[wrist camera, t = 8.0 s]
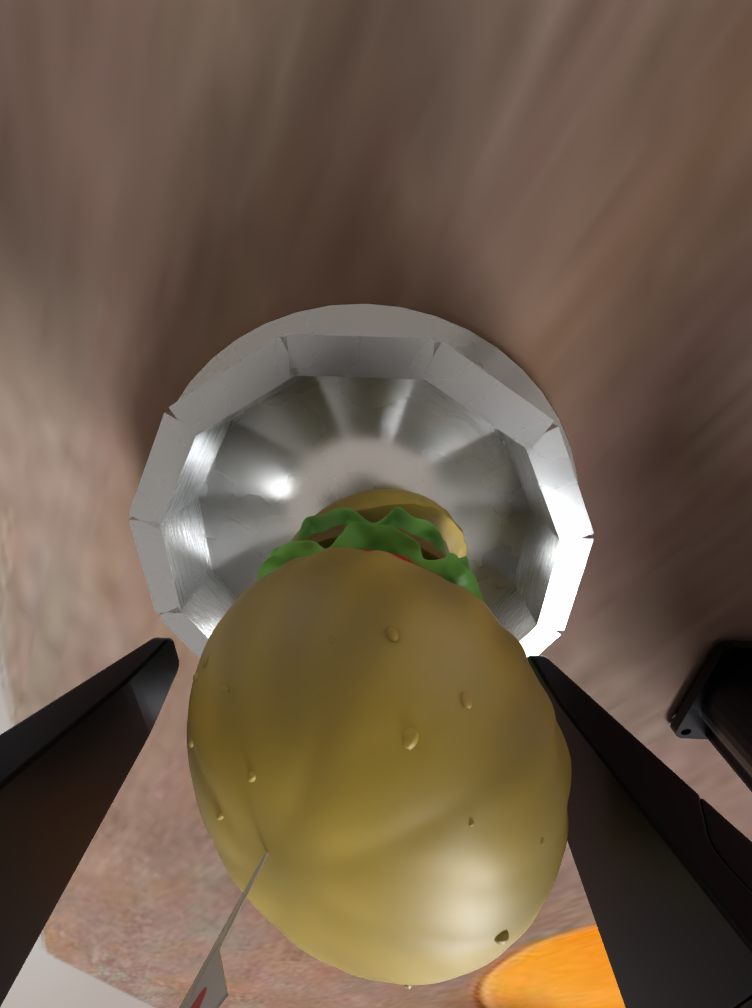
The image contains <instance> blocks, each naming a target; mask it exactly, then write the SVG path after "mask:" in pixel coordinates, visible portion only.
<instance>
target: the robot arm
mask: <svg viewBox="0 0 752 1008" xmlns="http://www.w3.org/2000/svg"><path fill="white" fill-rule="evenodd" d="M527 659H528V662H529V664H530V666H531V668H532V669H533V671H534V673H535V675H536V677H537V679H538V681H539V682H540V684H541V685H542V687H543V688H544V690H545V692H546V693H547V695H548V697H549V698H550V700H551V703H552V705H553V708H554V711H555V715H556V721H557V723H558V725H559V727H560V729H561V731H562V733H563V735H564V738H565V741H566V743H567V747H568V750H569V754H570V758H571V767H572V773H571V787H570V794H569V799H568V805H567V811H568V838H567V841H568V844H569V847H570V849H571V852H572V855H573V858H574V861H575V864H576V867H577V870H578V872H579V875H580V878H581V881H582V884H583V887H584V890H585V892H586V895H587V898H588V901H589V904H590V907H591V910H592V912H593V915H594V918H595V921H596V924H597V927H598V930H599V933H600V935H601V938H602V941H603V944H604V947H605V950H606V953H607V955H608V958H609V961H610V964H611V967H612V970H613V973H614V975H615V978H616V981H617V984H618V987H619V990H620V993H621V996H622V998H623V1001H624V1004H625V1007H626V1008H752V842H751V841H750V840H749V839H748V838H747V837H745V836H744V835H743V834H742V833H741V832H740V831H739V830H738V829H736V828H735V827H734V826H733V825H732V824H731V823H730V822H728V821H727V820H726V819H725V818H724V817H723V816H722V815H721V814H720V813H718V812H717V811H716V810H715V809H714V808H713V807H712V806H711V805H710V804H708V803H707V802H706V801H705V800H704V799H700V797H699V795H698V794H697V793H696V792H695V791H694V790H693V789H692V788H691V787H689V786H688V785H687V784H686V783H685V782H684V781H683V780H682V779H681V778H679V777H678V776H677V775H676V774H675V773H674V772H673V771H672V770H671V769H670V768H668V767H667V766H666V765H665V764H664V763H663V762H662V761H661V760H660V759H658V758H657V757H656V756H655V755H654V754H653V753H652V752H651V751H650V750H649V749H647V748H646V747H645V746H644V745H643V744H642V743H641V742H640V741H639V740H637V739H636V738H635V737H634V736H633V735H632V734H631V733H630V732H629V731H627V730H626V729H625V728H624V727H623V726H622V725H621V724H620V723H619V722H618V721H616V720H615V719H614V718H613V717H612V716H611V715H610V714H609V713H608V712H606V711H605V710H604V709H603V708H602V707H601V706H600V705H599V704H598V703H596V702H595V701H594V700H593V699H592V698H591V697H590V696H589V695H588V694H587V693H585V692H584V691H583V690H582V689H581V688H580V687H579V686H578V685H577V684H575V683H574V682H573V681H572V680H571V679H570V678H569V677H568V676H567V675H566V674H564V673H563V672H562V671H561V670H560V669H559V668H558V667H557V666H556V665H554V664H553V663H552V662H551V661H550V660H549V659H548V658H546V657H544V656H534V655H530V656H528V657H527ZM178 667H179V659H178V656H177V652H176V648H175V645H174V642H173V640H172V639H170V638H153V639H151V640H150V641H148V642H147V643H145V644H143V645H142V646H140V647H139V648H137V649H135V650H134V651H132V652H131V653H129V654H128V655H126V656H124V657H123V658H121V659H120V660H118V661H116V662H115V663H113V664H112V665H110V666H109V667H107V668H105V669H104V670H102V671H101V672H99V673H97V674H96V675H94V676H93V677H91V678H90V679H88V680H86V681H85V682H83V683H82V684H80V685H78V686H77V687H75V688H74V689H72V690H71V691H69V692H67V693H66V694H64V695H63V696H61V697H60V698H58V699H56V700H55V701H53V702H52V703H50V704H48V705H47V706H45V707H44V708H42V709H41V710H39V711H37V712H36V713H34V714H33V715H31V716H29V717H28V718H26V719H25V720H23V721H22V722H20V723H18V724H17V725H15V726H14V727H12V728H10V729H9V730H7V731H6V732H4V733H3V734H1V735H0V1006H1V1004H2V1003H3V1001H4V999H5V997H6V995H7V994H8V992H9V990H10V988H11V986H12V984H13V983H14V981H15V979H16V977H17V975H18V974H19V972H20V970H21V968H22V966H23V964H24V963H25V960H26V958H27V957H28V955H29V954H30V952H31V950H32V948H33V946H34V944H35V943H36V941H37V939H38V937H39V935H40V934H41V932H42V930H43V928H44V926H45V924H46V923H47V921H48V919H49V917H50V915H51V913H52V912H53V910H54V908H55V906H56V904H57V903H58V901H59V899H60V897H61V895H62V893H63V892H64V890H65V888H66V886H67V884H68V882H69V881H70V879H71V877H72V875H73V873H74V872H75V870H76V868H77V866H78V864H79V862H80V861H81V859H82V857H83V855H84V853H85V852H86V850H87V848H88V846H89V844H90V842H91V841H92V839H93V837H94V835H95V833H96V831H97V830H98V828H99V826H100V824H101V822H102V821H103V819H104V817H105V815H106V813H107V811H108V810H109V808H110V806H111V804H112V802H113V800H114V799H115V797H116V795H117V793H118V791H119V790H120V788H121V786H122V784H123V782H124V780H125V779H126V777H127V775H128V773H129V771H130V769H131V768H132V766H133V764H134V762H135V760H136V759H137V757H138V755H139V753H140V751H141V749H142V748H143V746H144V744H145V742H146V740H147V738H148V736H149V734H150V732H151V730H152V728H153V726H154V724H155V721H156V719H157V717H158V715H159V712H160V710H161V708H162V705H163V703H164V701H165V699H166V696H167V694H168V692H169V689H170V687H171V685H172V683H173V680H174V678H175V676H176V673H177V671H178ZM670 727H671V729H672V730H673V732H674V733H675V734H676V736H678V737H679V738H691V739H708V740H709V741H710V742H711V743H712V744H713V746H714V747H715V748H716V749H717V750H718V752H719V753H720V754H721V755H722V757H723V758H724V759H725V760H726V761H727V763H728V764H729V765H730V766H731V767H732V769H733V770H734V771H735V772H736V773H737V775H738V776H739V777H740V778H741V780H742V781H743V782H744V783H745V784H746V786H747V787H748V788H749V789H750V790H751V792H752V642H750V641H724V642H721V643H719V644H718V645H716V647H715V648H714V649H713V651H712V653H711V655H710V656H709V658H708V660H707V662H706V663H705V665H704V667H703V669H702V670H701V672H700V674H699V676H698V677H697V679H696V681H695V683H694V684H693V686H692V688H691V690H690V691H689V693H688V695H687V697H686V698H685V700H684V702H683V704H682V705H681V707H680V709H679V711H678V712H677V714H676V716H675V718H674V719H673V721H672V723H671V725H670Z"/></svg>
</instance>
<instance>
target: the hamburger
mask: <svg viewBox="0 0 752 1008" xmlns="http://www.w3.org/2000/svg"><path fill="white" fill-rule="evenodd" d="M466 553H467V545H466V542H465V540H464V534H463V530H462V529H461V528H460V527H459V526H458V525H457V524H456V523H455V521H454V520H453V519H452V517H451V515H450V513H449V512H448V511H447V510H446V509H444V508H442V507H441V506H440V505H438V504H437V503H436V502H435V501H433V500H431V499H429V498H427V497H425V496H423V495H420V494H416V493H413V492H410V491H406V490H400V489H377V490H370V491H365V492H360V493H356V494H353V495H350V496H347V497H345V498H343V499H341V500H338V501H336V502H334V503H332V504H330V505H328V506H327V507H325V508H323V509H322V510H321V511H319V512H318V513H317V514H316V515H314V516H309V517H307V518H305V519H304V521H303V522H302V525H301V528H300V530H299V531H298V532H297V533H296V535H295V536H294V537H293V539H292V540H291V542H288V543H286V544H284V545H283V546H282V547H277V548H275V549H274V550H273V551H272V552H271V553H270V555H269V558H267V559H266V560H265V561H264V562H263V563H262V565H261V566H260V569H259V572H258V577H257V580H256V581H255V582H254V583H252V584H251V585H250V586H249V587H248V588H247V589H246V590H245V591H244V592H243V593H242V594H241V595H240V596H239V597H238V598H237V599H236V601H235V602H234V603H233V604H232V605H231V607H230V608H229V609H228V610H227V612H226V613H225V615H224V616H223V617H222V619H221V620H220V621H219V623H218V624H217V626H216V627H215V629H214V630H213V632H212V634H211V635H210V637H209V639H208V641H207V643H206V645H205V647H204V650H203V652H202V655H201V658H200V661H199V664H198V667H197V670H196V673H195V675H194V676H193V684H192V689H191V694H190V700H189V710H188V721H187V750H188V760H189V766H190V772H191V777H192V781H193V786H194V791H195V795H196V799H197V803H198V807H199V810H200V813H201V816H202V819H203V822H204V824H205V827H206V829H207V831H208V833H209V835H210V837H211V838H212V840H213V842H214V844H215V847H216V849H217V852H218V854H219V856H220V858H221V860H222V862H223V864H224V866H225V868H226V870H227V871H228V873H229V874H230V876H231V877H232V879H233V880H234V882H235V883H236V885H237V886H238V887H239V889H240V890H241V891H242V893H243V894H242V895H241V897H240V899H239V901H238V903H237V904H236V906H235V908H234V910H233V912H232V914H231V915H230V917H229V919H228V921H227V923H226V924H225V926H224V928H223V930H222V932H221V933H220V935H219V937H218V939H217V941H216V942H215V944H214V946H213V948H212V950H211V951H210V953H209V955H208V957H207V959H206V960H205V962H204V964H203V966H202V968H201V970H200V971H199V973H198V975H197V977H196V979H195V980H194V982H193V984H192V986H191V988H190V989H189V991H188V993H187V995H186V997H185V998H184V1000H183V1002H182V1004H181V1006H180V1007H179V1008H219V1006H220V1005H221V1004H222V1002H223V1001H224V1000H225V998H226V997H227V996H228V992H227V987H226V981H225V976H224V971H223V966H222V960H221V955H220V949H221V947H222V945H223V943H224V941H225V939H226V937H227V935H228V933H229V931H230V929H231V927H232V925H233V923H234V921H235V919H236V917H237V915H238V913H239V911H240V909H241V907H242V905H243V903H244V901H245V899H246V897H247V898H248V900H249V901H250V902H251V903H252V904H253V905H254V906H255V907H256V909H257V910H258V911H259V912H260V913H261V914H262V915H263V916H264V917H265V918H266V919H267V920H269V921H270V922H271V923H272V924H274V925H275V926H276V927H277V928H278V929H279V930H280V931H281V932H282V933H283V934H284V935H285V936H286V937H287V938H288V939H289V940H290V941H291V942H292V943H294V944H295V945H296V946H298V947H299V948H300V949H302V950H303V951H305V952H306V953H308V954H310V955H311V956H313V957H315V958H317V959H319V960H321V961H323V962H325V963H327V964H330V965H332V966H334V967H336V968H338V969H340V970H342V971H345V972H347V973H349V974H352V975H354V976H357V977H361V978H364V979H369V980H374V981H382V982H390V983H395V984H402V985H404V986H405V987H406V988H407V989H411V987H412V986H413V985H425V984H433V983H438V982H443V981H446V980H450V979H453V978H455V977H458V976H461V975H464V974H467V973H470V972H473V971H475V970H477V969H479V968H481V967H483V966H485V965H487V964H489V963H490V962H492V961H493V960H495V959H496V958H497V957H499V956H500V955H501V954H502V953H503V952H504V951H505V950H507V949H508V948H509V947H510V946H511V945H512V944H513V943H514V942H515V941H516V940H517V939H518V938H520V937H521V936H522V935H523V934H524V932H525V931H526V930H527V929H528V928H529V926H530V925H531V924H532V922H533V921H534V919H535V918H536V916H537V914H538V913H539V911H540V909H541V907H542V905H543V903H544V902H545V900H546V899H547V897H548V895H549V893H550V891H551V889H552V887H553V885H554V882H555V880H556V877H557V874H558V871H559V868H560V865H561V861H562V858H563V854H564V851H565V847H566V843H567V838H568V811H567V805H568V799H569V794H570V787H571V773H572V767H571V758H570V754H569V750H568V747H567V743H566V741H565V738H564V735H563V733H562V731H561V729H560V727H559V725H558V723H557V721H556V715H555V711H554V708H553V705H552V703H551V700H550V698H549V697H548V695H547V693H546V692H545V690H544V688H543V687H542V685H541V684H540V682H539V681H538V679H537V677H536V675H535V673H534V671H533V669H532V668H531V666H530V664H529V662H528V659H527V655H526V652H525V650H524V648H523V646H522V644H521V643H520V642H519V640H518V639H517V638H516V637H515V636H514V635H513V634H512V633H511V632H510V631H508V630H507V629H506V628H505V627H503V626H502V625H501V624H500V623H499V621H498V620H497V618H496V617H495V615H494V614H493V612H492V611H491V610H490V608H489V607H488V606H487V605H486V604H485V603H484V601H483V597H482V594H481V592H480V589H479V585H478V582H477V580H476V577H475V576H474V574H473V573H472V572H471V568H470V564H469V561H468V558H467V556H466Z"/></svg>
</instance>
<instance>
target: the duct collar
mask: <svg viewBox="0 0 752 1008" xmlns="http://www.w3.org/2000/svg"><path fill="white" fill-rule="evenodd" d="M169 409H170V410H171V411H168V412H164V415H163V418H162V420H161V423H160V426H159V429H158V432H157V435H156V438H155V440H154V443H153V446H152V449H151V452H150V455H149V457H148V460H147V463H146V466H145V469H144V472H143V474H142V477H141V480H140V483H139V486H138V489H137V491H136V494H135V497H134V500H133V503H132V506H131V509H130V511H129V514H128V515H130V516H132V518H131V519H129V520H128V521H129V524H130V527H131V531H132V534H133V538H134V541H135V545H136V548H137V551H138V555H139V558H140V562H141V565H142V569H143V572H144V575H145V579H146V582H147V586H148V589H149V593H150V596H151V600H152V603H153V606H154V610H155V612H161V613H160V615H159V616H158V617H159V618H160V619H161V620H162V621H163V622H164V623H165V624H166V625H167V626H168V627H169V628H170V629H171V630H172V631H173V632H174V633H175V634H176V635H177V636H178V637H179V638H180V639H181V640H182V641H183V642H184V643H185V644H186V645H187V646H188V648H189V649H190V650H191V651H192V652H193V653H194V654H195V655H196V656H197V657H198V658H199V659H200V658H201V655H202V652H203V650H204V647H205V645H206V643H207V641H208V639H209V637H210V635H211V634H212V632H213V630H214V629H215V627H216V626H217V624H218V623H219V621H220V620H221V619H222V617H223V616H224V615H225V613H226V612H227V610H228V609H229V608H230V607H231V605H232V604H233V603H234V602H235V601H236V599H237V598H238V597H239V596H240V595H241V594H242V593H243V592H244V591H245V590H246V589H247V588H248V587H249V586H250V585H251V584H252V583H254V582H255V581H256V580H257V577H258V572H259V569H260V566H261V565H262V563H263V562H264V561H265V560H266V559H267V558H269V555H270V553H271V552H272V551H273V550H274V549H275V548H277V547H282V546H283V545H284V544H286V543H288V542H291V540H292V539H293V537H294V536H295V535H296V533H297V532H298V531H299V530H300V528H301V525H302V522H303V521H304V519H305V518H307V517H309V516H314V515H316V514H317V513H318V512H319V511H321V510H322V509H323V508H325V507H327V506H328V505H330V504H332V503H334V502H336V501H338V500H341V499H343V498H345V497H347V496H350V495H353V494H356V493H360V492H365V491H370V490H377V489H400V490H406V491H410V492H413V493H416V494H420V495H423V496H425V497H427V498H429V499H431V500H433V501H435V502H436V503H437V504H438V505H440V506H441V507H442V508H444V509H446V510H447V511H448V512H449V513H450V515H451V517H452V519H453V520H454V521H455V523H456V524H457V525H458V526H459V527H460V528H461V529H462V530H463V534H464V540H465V542H466V545H467V553H466V556H467V558H468V561H469V564H470V568H471V572H472V573H473V574H474V576H475V577H476V580H477V582H478V585H479V589H480V592H481V594H482V597H483V601H484V603H485V604H486V605H487V606H488V607H489V608H490V610H491V611H492V612H493V614H494V615H495V617H496V618H497V620H498V621H499V623H500V624H501V625H502V626H503V627H505V628H506V629H507V630H508V631H510V632H511V633H512V634H513V635H514V636H515V637H516V638H517V639H518V640H519V642H520V643H521V644H522V646H523V648H524V650H525V652H526V655H527V657H528V656H530V655H534V656H537V655H539V654H540V653H541V652H542V651H543V650H544V649H545V648H546V647H548V646H549V645H550V644H551V643H552V642H553V641H554V640H555V639H557V638H558V637H559V636H560V635H561V634H560V632H559V630H564V629H565V626H566V623H567V619H568V616H569V613H570V610H571V607H572V604H573V601H574V598H575V595H576V592H577V589H578V586H579V583H580V580H581V576H582V573H583V570H584V567H585V564H586V561H587V558H588V555H589V552H590V549H591V546H592V543H593V540H594V539H593V538H592V537H591V536H590V534H593V533H594V532H593V529H592V526H591V523H590V520H589V517H588V514H587V511H586V508H585V505H584V502H583V499H582V496H581V493H580V490H579V487H578V482H577V472H576V468H575V464H574V460H573V456H572V451H571V447H570V445H569V442H568V440H567V437H566V435H565V432H564V430H563V428H562V425H561V423H560V420H559V419H558V417H557V415H556V414H555V412H554V410H553V409H552V407H551V405H550V404H549V402H548V401H547V399H546V397H545V396H544V394H543V393H542V392H541V390H540V389H539V388H538V387H537V386H536V385H535V383H534V382H533V381H532V380H531V379H530V378H529V376H528V375H527V374H526V373H525V372H524V371H523V369H521V368H520V367H519V366H518V365H517V364H516V363H514V362H513V361H512V360H511V359H510V358H509V357H507V356H506V355H505V354H504V353H503V352H502V351H500V350H499V349H498V348H497V347H495V346H493V345H492V344H490V343H489V342H487V341H485V340H484V339H482V338H481V337H479V336H477V335H476V334H474V333H473V332H471V331H469V330H467V329H465V328H463V327H460V326H458V325H456V324H453V323H451V322H449V321H446V320H444V319H442V318H439V317H437V316H433V315H430V314H426V313H422V312H418V311H414V310H410V309H407V308H403V307H394V306H385V305H375V304H347V305H330V306H325V307H320V308H315V309H310V310H305V311H300V312H296V313H293V314H290V315H287V316H285V317H282V318H279V319H276V320H274V321H271V322H268V323H265V324H263V325H262V326H260V327H258V328H256V329H254V330H253V331H251V332H249V333H247V334H245V335H244V336H242V337H240V338H238V339H236V340H235V341H234V342H232V343H231V344H230V345H229V346H227V347H226V348H225V349H223V350H222V351H221V352H220V353H218V354H217V355H216V356H215V357H213V358H212V359H211V360H210V361H209V362H208V363H207V364H206V365H205V366H204V367H203V368H202V369H201V371H200V372H199V373H198V374H197V375H196V376H195V377H194V378H193V379H192V380H191V381H190V383H189V384H188V386H187V387H186V389H185V390H184V392H183V393H182V395H181V396H180V398H179V399H178V401H177V402H176V403H174V404H173V405H171V406H170V407H169Z"/></svg>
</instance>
